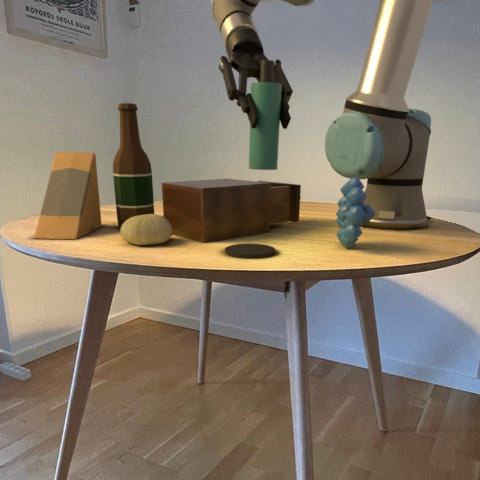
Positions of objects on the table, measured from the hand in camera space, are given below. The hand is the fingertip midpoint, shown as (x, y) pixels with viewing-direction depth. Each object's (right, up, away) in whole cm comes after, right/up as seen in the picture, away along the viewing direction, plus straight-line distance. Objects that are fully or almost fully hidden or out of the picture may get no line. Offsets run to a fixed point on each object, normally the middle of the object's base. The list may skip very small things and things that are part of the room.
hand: (271, 123), depth 92 cm
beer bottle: (-28, -19, +8) cm, 35 cm away
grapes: (+13, -27, -10) cm, 31 cm away
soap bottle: (-1, -7, +6) cm, 9 cm away
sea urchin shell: (-23, -25, -7) cm, 35 cm away
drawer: (-2, -17, +10) cm, 20 cm away
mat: (-5, -28, -14) cm, 31 cm away
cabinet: (-11, -21, +3) cm, 24 cm away
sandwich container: (-41, -21, +3) cm, 46 cm away
